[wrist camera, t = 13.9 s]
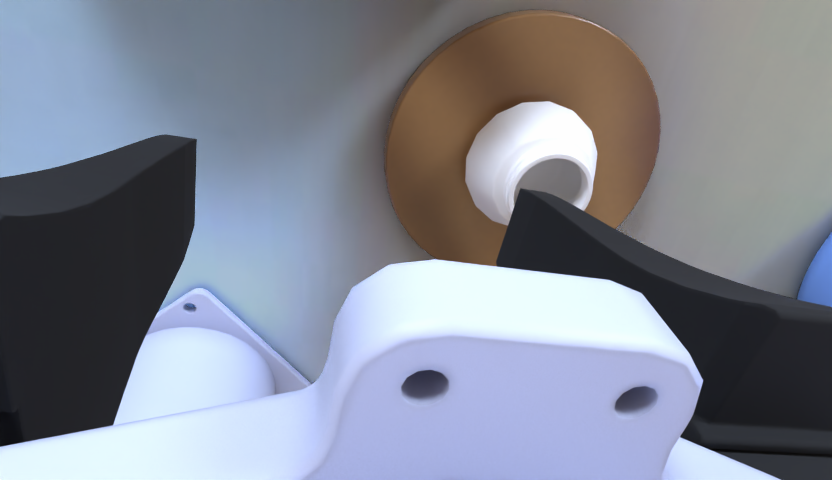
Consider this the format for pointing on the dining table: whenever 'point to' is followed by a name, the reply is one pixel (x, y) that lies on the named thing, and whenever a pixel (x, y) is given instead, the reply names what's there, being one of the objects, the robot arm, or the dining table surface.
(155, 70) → the dining table surface
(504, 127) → the lidless jar
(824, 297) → the water jug
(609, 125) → the trivet
